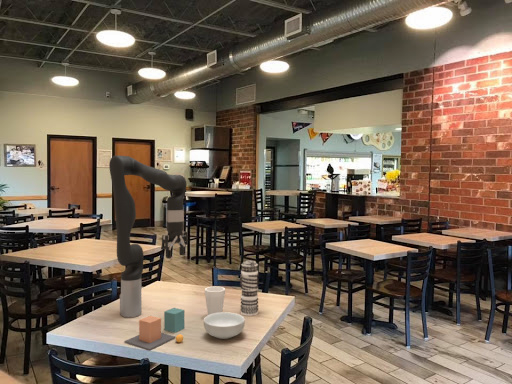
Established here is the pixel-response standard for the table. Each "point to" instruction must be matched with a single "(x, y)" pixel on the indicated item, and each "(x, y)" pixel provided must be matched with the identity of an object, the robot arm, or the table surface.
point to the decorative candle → (249, 288)
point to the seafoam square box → (174, 320)
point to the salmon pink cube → (150, 329)
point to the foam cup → (214, 299)
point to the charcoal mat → (149, 346)
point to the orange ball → (179, 338)
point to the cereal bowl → (224, 324)
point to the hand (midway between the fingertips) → (175, 256)
